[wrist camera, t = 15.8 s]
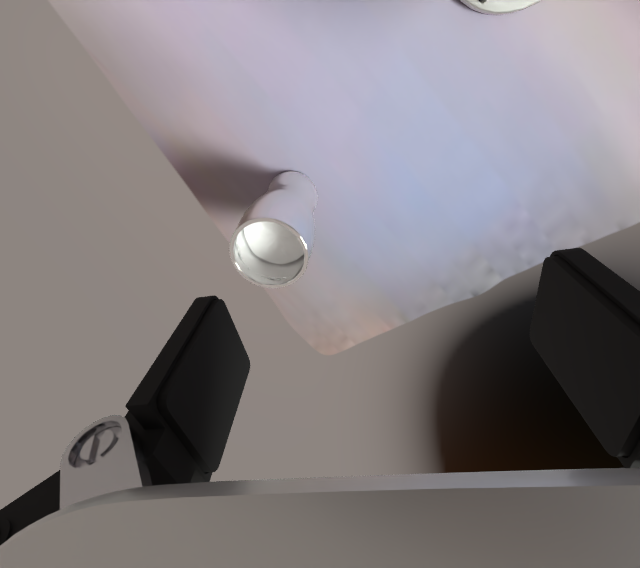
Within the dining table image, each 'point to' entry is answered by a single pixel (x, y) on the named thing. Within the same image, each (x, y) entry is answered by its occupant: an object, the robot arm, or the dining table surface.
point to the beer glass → (277, 233)
